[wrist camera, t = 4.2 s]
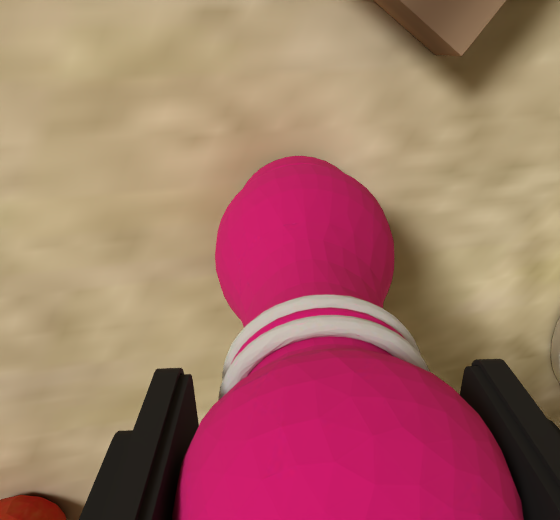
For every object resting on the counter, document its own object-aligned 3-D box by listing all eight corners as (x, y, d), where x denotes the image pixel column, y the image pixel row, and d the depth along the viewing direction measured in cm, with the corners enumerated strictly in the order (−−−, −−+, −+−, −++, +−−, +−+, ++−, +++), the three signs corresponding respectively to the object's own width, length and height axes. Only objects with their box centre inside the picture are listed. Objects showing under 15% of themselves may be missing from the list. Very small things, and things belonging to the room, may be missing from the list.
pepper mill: (280, 112, 20) (331, 600, 2) (400, 200, 22) (961, 860, 4) (199, 234, 23) (-89, 939, 5) (313, 304, 25) (421, 1007, 7)
